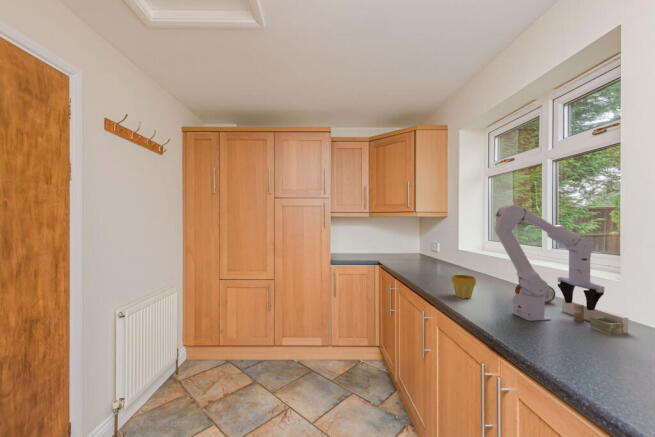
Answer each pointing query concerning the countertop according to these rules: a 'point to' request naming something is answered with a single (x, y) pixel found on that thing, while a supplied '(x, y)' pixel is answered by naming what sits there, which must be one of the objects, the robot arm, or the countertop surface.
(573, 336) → the countertop surface
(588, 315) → the backstop wall
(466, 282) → the plant pot
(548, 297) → the tin
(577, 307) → the dowel
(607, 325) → the socket block
